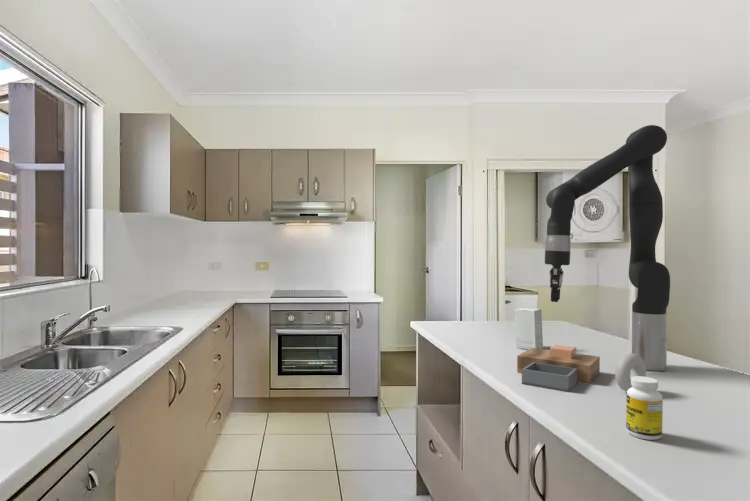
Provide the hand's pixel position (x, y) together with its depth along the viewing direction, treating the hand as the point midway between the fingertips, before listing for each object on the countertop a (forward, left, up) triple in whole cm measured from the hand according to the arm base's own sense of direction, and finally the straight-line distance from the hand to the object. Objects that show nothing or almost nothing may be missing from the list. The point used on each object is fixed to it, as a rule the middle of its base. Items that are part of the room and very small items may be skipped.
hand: (555, 300), depth 147 cm
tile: (-4, +8, -16) cm, 18 cm away
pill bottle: (-29, +47, -21) cm, 59 cm away
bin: (-4, +22, -21) cm, 30 cm away
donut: (-23, +17, -21) cm, 36 cm away
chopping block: (-3, +9, -21) cm, 23 cm away
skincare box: (+15, -20, -21) cm, 32 cm away
